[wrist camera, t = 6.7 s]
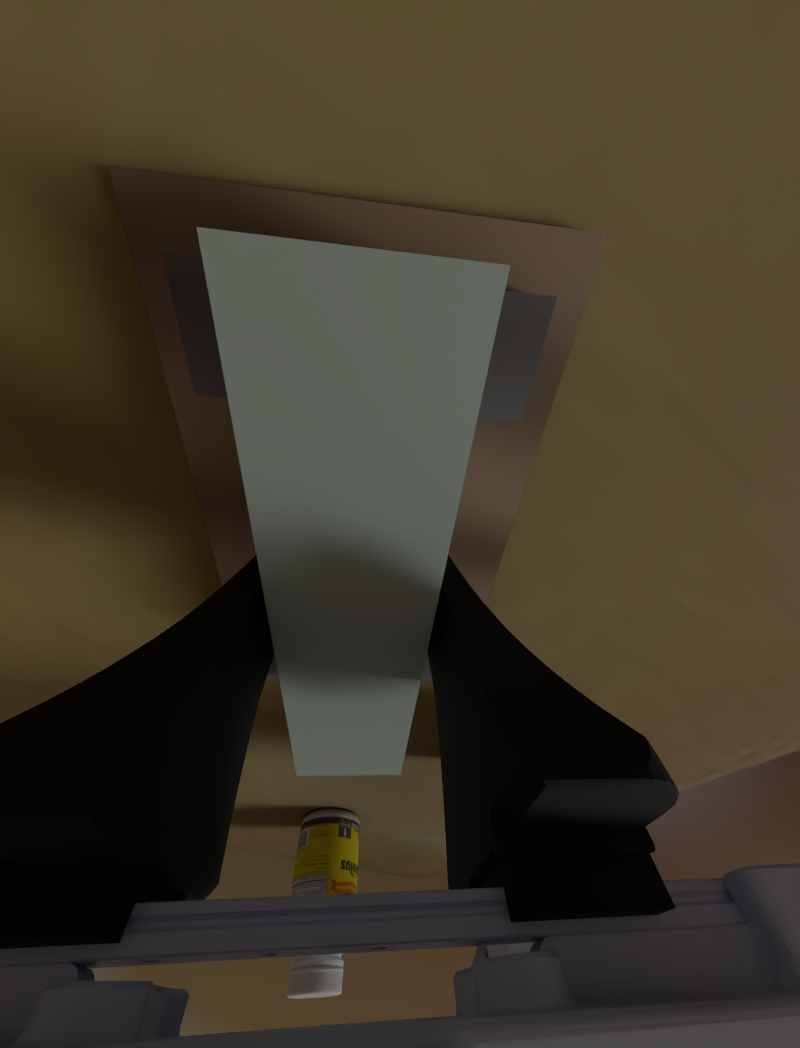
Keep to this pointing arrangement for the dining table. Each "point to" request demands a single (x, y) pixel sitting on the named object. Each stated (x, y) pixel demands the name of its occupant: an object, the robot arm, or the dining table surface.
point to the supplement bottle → (323, 891)
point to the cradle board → (530, 249)
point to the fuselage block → (350, 466)
